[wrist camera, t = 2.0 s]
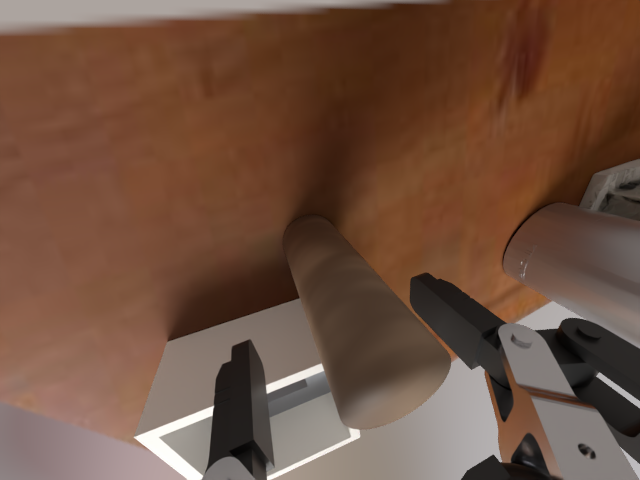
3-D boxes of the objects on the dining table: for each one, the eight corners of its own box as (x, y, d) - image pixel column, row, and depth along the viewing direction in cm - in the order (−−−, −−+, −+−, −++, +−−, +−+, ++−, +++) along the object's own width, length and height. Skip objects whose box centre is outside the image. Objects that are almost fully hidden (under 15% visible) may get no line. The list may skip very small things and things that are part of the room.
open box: (320, 291, 19) (348, 352, 14) (336, 372, 25) (360, 437, 20) (167, 341, 17) (133, 437, 12) (224, 418, 23) (219, 504, 17)
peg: (331, 208, 16) (459, 326, 7) (337, 255, 18) (443, 397, 9) (276, 222, 15) (331, 379, 6) (289, 270, 17) (345, 444, 8)
